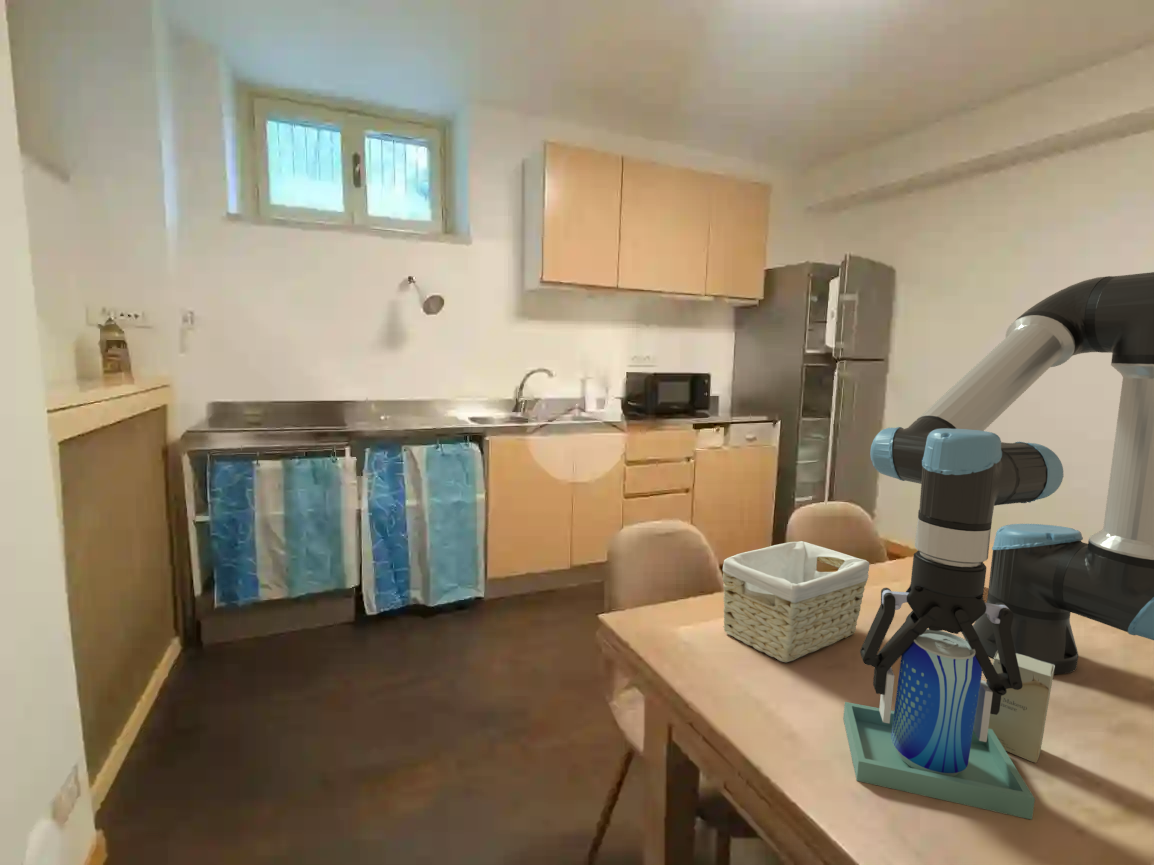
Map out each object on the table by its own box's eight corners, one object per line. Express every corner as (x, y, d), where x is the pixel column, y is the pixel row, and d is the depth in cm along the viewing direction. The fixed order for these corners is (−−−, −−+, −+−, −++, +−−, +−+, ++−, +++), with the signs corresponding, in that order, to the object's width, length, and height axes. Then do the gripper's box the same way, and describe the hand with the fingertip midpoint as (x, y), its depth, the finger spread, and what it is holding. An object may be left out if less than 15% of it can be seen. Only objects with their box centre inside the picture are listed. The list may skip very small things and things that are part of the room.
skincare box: (980, 741, 79) (990, 657, 77) (986, 727, 82) (997, 646, 80) (1039, 765, 74) (1051, 676, 73) (1043, 749, 78) (1055, 663, 76)
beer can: (979, 788, 69) (998, 666, 66) (902, 776, 71) (918, 656, 68) (949, 740, 77) (965, 629, 74) (881, 731, 79) (894, 622, 76)
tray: (989, 747, 78) (992, 729, 77) (1031, 819, 65) (1034, 798, 65) (843, 718, 83) (844, 701, 83) (856, 780, 71) (858, 761, 70)
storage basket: (792, 604, 122) (797, 536, 120) (867, 636, 109) (875, 560, 107) (714, 633, 108) (718, 557, 106) (789, 673, 95) (795, 587, 93)
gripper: (1045, 558, 71) (1023, 727, 74) (844, 536, 78) (831, 692, 80) (1077, 580, 64) (1050, 766, 67) (852, 554, 70) (837, 724, 73)
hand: (930, 725), depth 74 cm, fingers open, 10 cm apart
